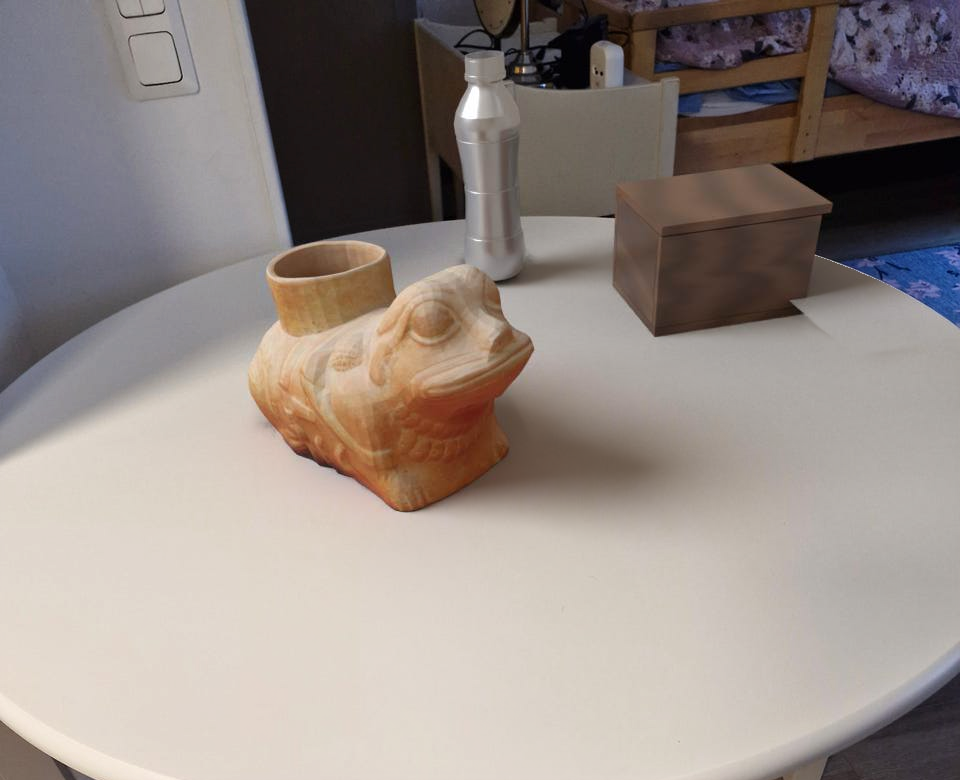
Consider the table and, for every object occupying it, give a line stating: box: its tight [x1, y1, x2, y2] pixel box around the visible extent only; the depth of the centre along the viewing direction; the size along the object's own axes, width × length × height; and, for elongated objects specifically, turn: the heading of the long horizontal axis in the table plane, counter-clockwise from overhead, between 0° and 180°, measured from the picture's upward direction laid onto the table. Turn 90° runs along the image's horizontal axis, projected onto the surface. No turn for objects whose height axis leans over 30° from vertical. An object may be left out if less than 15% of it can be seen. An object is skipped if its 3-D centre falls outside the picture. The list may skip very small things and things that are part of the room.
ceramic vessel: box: [247, 239, 535, 512], centre depth 66 cm, size 14×26×15 cm, turn 46°
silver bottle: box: [453, 50, 527, 282], centre depth 88 cm, size 6×7×20 cm
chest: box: [612, 193, 823, 338], centre depth 84 cm, size 15×13×9 cm
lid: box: [615, 163, 834, 236], centre depth 81 cm, size 15×13×1 cm
